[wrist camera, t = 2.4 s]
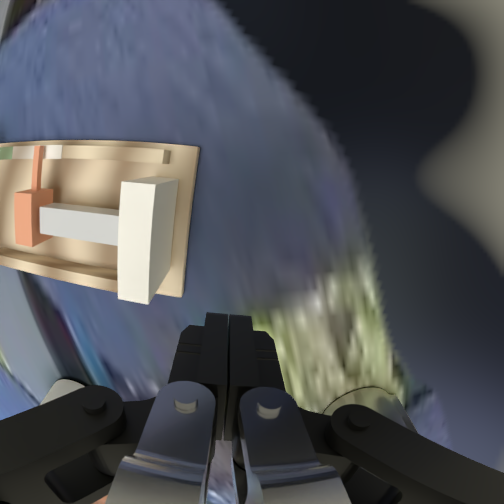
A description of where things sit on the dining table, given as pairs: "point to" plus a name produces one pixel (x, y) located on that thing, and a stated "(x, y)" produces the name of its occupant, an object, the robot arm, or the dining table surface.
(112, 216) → the plunger
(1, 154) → the frame
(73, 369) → the dining table surface
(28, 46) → the dining table surface
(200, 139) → the dining table surface
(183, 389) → the robot arm
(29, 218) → the orange stepped bar
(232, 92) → the dining table surface
